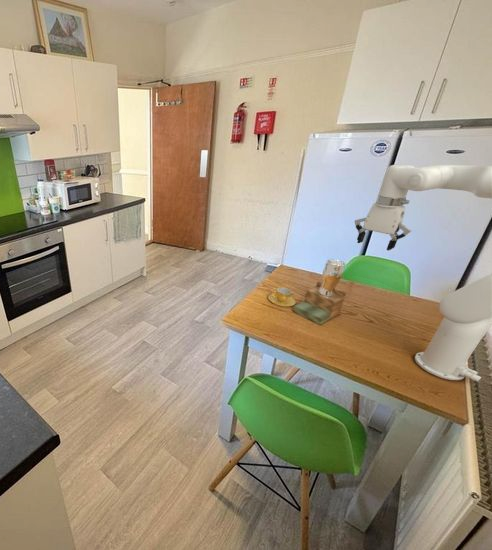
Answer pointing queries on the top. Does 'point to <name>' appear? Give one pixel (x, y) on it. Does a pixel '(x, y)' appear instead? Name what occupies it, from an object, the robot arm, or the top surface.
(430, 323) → the top surface
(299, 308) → the shelf riser
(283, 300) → the cup
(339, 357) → the top surface
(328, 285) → the beer glass
